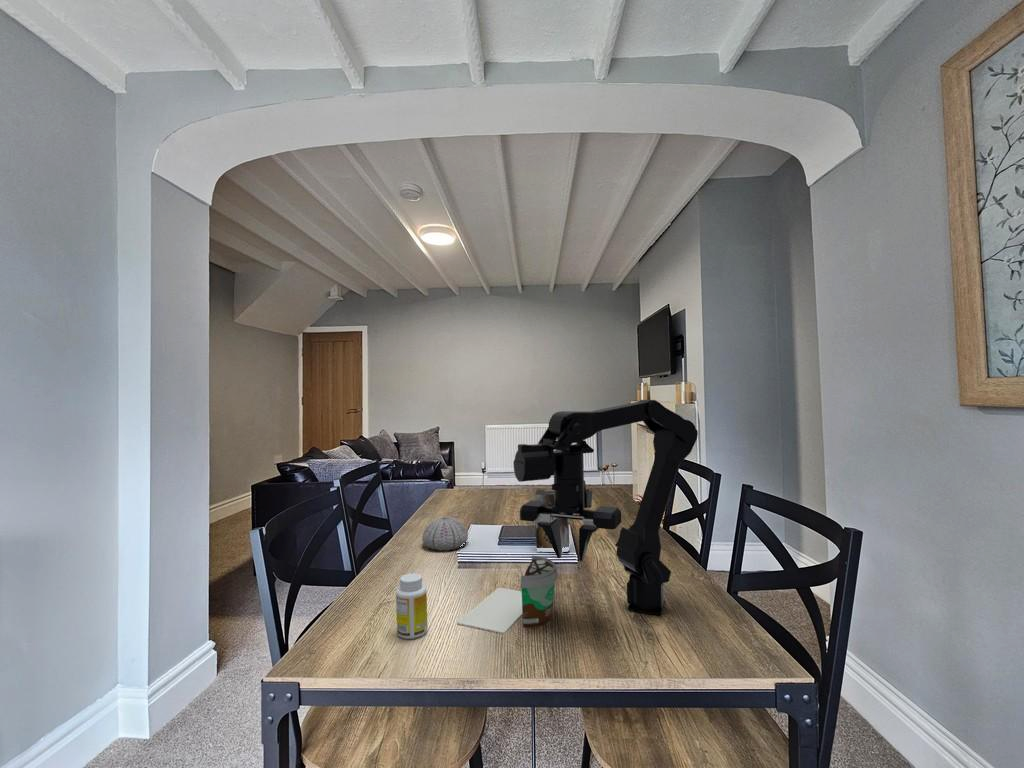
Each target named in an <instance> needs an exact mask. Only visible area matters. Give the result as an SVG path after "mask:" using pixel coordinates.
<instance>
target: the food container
mask: <svg viewBox="0 0 1024 768" xmlns="http://www.w3.org/2000/svg"><path fill="white" fill-rule="evenodd" d="M558 579H559V572H558V569H557V566H556V565H555V562H554V561H553V560H551V559H550V558H548V557H544V556H539V555H531V562H530V564H529V565H528V566H527V568H526V571H525V573H524V575H521V576H520V588H521V590H520V591H522V614H523V615H522V628H527V627H528V628H529V629H530V628H539V627H542V626H546V625H547V624H548V623H549V624H550V623H551V622H552V620H553V618H554V601H555V600H554V598H555V582H556V581H557V580H558Z"/></svg>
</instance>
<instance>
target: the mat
mask: <svg viewBox="0 0 1024 768" xmlns="http://www.w3.org/2000/svg"><path fill="white" fill-rule="evenodd" d="M521 617H523V614H522V590H517V589H511V588H510V589H509V588H505V587H504V588H503V587H497V588H496V589H495V590H494V591H493V592H492V593H490V594H489V595H488V596H487V597H485V598H484V599H483V600H481V602H480V603H478V604H477V605H476V606H474V608H473V609H471V610H470V611H469V612H468V613H466V614H465V615H464V616H463V617H462V618H461V619H460V620H458V621H456V625H460V626H464V627H468V628H473V627H474V628H473V629H477V628H480V629H479V630H482V629H484V630H483V631H487V630H490V631H489V632H492V631H493V632H492V633H496V632H497V633H496V634H502V635H505V634H506V633H507V632H508V631H509V630H508V629H510V628H512V626H514V624H515V623H516V622H517V621H518V620H519V619H520V618H521Z"/></svg>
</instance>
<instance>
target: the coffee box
mask: <svg viewBox="0 0 1024 768" xmlns="http://www.w3.org/2000/svg"><path fill="white" fill-rule="evenodd" d="M534 501H545V502H547V503H548V507H552V506H554V490H552V488H551V489H548V488H547V489H536V491H535V493H534ZM563 514H566V513H563ZM569 520H570V519H566V518H561V523H560V535H561V547H562V548H563V547H564V548H565V547H569V543H570V524H569V523H570V521H569ZM538 523H539V516H538V518H537V519H536V520H535V547H537V548H553V547H552V544H551V542H550V540H549V538H548V537H547V535H546V533H545V532H544V530H543V528H542V527H539V526H538Z"/></svg>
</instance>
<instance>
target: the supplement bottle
mask: <svg viewBox="0 0 1024 768" xmlns="http://www.w3.org/2000/svg"><path fill="white" fill-rule="evenodd" d="M399 581H400V582H399V586H398V588H397V589H396V591H395V600H396V601H395V602H396V604H395V607H396V608H395V609H396V612H395V613H396V633H397V635H398V636H399V638H402V639H405V640H412V639H417V638H420V637H423V636H424V635H425V634H426V633H427V631H428V601H427V600H428V599H427V595H428V594H427V587H426V585H424V584H423V577H422V575H421V574H419V573H407V574H404V575H402V576H401V577H400V579H399Z"/></svg>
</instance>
